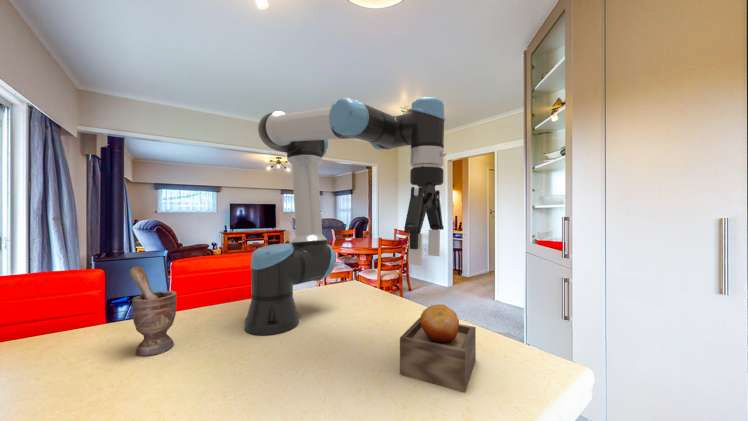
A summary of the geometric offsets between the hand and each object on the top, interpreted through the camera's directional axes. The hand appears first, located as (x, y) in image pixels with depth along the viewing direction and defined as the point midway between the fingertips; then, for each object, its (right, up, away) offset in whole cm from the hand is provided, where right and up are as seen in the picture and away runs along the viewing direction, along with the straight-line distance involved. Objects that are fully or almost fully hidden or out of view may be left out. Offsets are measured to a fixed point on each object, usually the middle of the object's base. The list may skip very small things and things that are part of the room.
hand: (425, 259), depth 67 cm
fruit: (+2, -17, -5) cm, 17 cm away
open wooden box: (+2, -22, -5) cm, 23 cm away
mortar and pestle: (-67, -23, +3) cm, 71 cm away
